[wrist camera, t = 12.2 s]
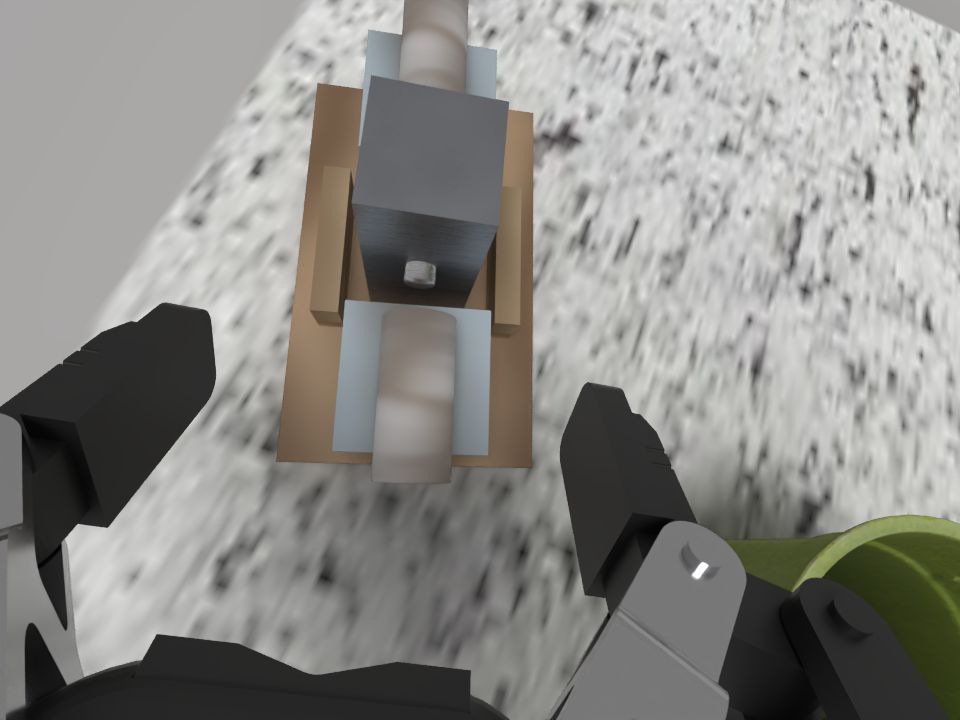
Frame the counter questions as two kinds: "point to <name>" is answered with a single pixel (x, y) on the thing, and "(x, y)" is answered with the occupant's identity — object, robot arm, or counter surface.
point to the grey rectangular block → (427, 191)
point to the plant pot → (885, 584)
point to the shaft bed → (327, 343)
